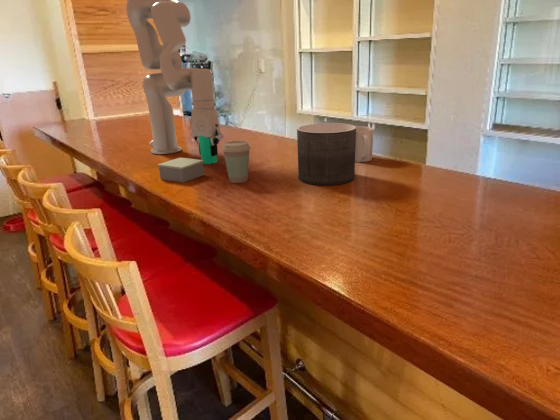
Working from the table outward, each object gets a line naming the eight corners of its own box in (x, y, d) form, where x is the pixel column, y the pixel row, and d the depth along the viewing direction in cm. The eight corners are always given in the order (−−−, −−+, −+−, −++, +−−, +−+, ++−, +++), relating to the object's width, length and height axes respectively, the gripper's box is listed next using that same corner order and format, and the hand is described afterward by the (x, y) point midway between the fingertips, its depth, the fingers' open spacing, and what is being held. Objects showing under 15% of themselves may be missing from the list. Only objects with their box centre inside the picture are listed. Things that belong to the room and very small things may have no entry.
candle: (214, 164, 155) (211, 131, 151) (198, 163, 156) (195, 131, 152) (219, 160, 161) (216, 128, 156) (204, 160, 162) (201, 128, 158)
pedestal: (159, 179, 138) (157, 164, 137) (181, 171, 147) (180, 157, 145) (183, 182, 133) (181, 167, 132) (204, 174, 142) (203, 160, 140)
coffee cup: (256, 177, 136) (253, 140, 132) (245, 185, 128) (242, 146, 124) (232, 176, 139) (229, 140, 135) (220, 183, 131) (216, 145, 127)
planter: (317, 189, 122) (317, 135, 116) (288, 175, 137) (286, 127, 131) (366, 179, 129) (368, 128, 124) (333, 167, 144) (334, 121, 139)
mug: (376, 156, 156) (378, 126, 153) (368, 164, 146) (370, 132, 142) (349, 155, 161) (349, 125, 157) (339, 162, 151) (340, 131, 147)
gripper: (178, 105, 152) (184, 155, 159) (215, 107, 144) (220, 159, 150) (192, 103, 158) (197, 151, 165) (229, 104, 150) (233, 154, 156)
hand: (208, 154), depth 158 cm, fingers closed on candle, 4 cm apart
